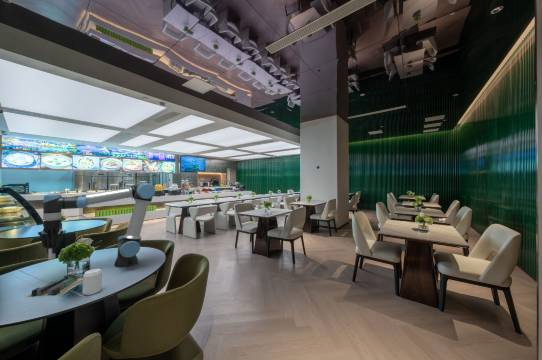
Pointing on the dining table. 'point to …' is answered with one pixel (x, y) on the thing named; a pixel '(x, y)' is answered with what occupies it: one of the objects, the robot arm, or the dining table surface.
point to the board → (64, 288)
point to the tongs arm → (50, 285)
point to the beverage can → (92, 281)
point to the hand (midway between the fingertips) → (51, 258)
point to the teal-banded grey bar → (62, 285)
